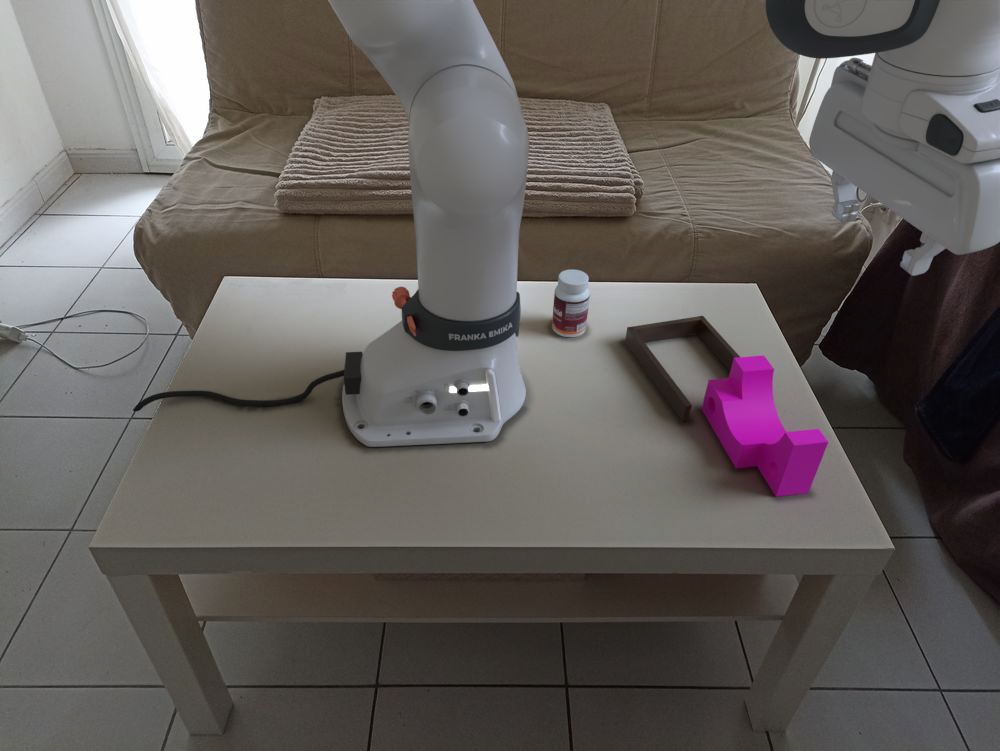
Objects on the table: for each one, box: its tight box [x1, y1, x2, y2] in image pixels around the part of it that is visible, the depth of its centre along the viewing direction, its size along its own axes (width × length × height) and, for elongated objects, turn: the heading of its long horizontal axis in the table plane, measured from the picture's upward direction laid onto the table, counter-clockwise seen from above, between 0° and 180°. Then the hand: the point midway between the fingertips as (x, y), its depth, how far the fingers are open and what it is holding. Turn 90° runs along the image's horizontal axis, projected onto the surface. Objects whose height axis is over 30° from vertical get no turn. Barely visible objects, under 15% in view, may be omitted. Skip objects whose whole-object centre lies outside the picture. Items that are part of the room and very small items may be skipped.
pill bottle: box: [551, 268, 591, 338], centre depth 102 cm, size 5×5×8 cm
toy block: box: [701, 354, 829, 498], centre depth 84 cm, size 15×6×8 cm, turn 9°
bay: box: [624, 315, 741, 422], centre depth 97 cm, size 11×17×2 cm
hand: (876, 243), depth 68 cm, fingers open, 8 cm apart
